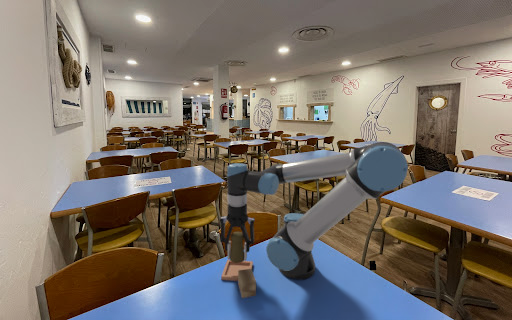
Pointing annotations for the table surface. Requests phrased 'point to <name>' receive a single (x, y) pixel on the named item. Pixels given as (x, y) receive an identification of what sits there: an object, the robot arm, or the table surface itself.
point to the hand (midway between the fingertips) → (237, 257)
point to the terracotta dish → (235, 269)
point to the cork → (237, 247)
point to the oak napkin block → (246, 283)
